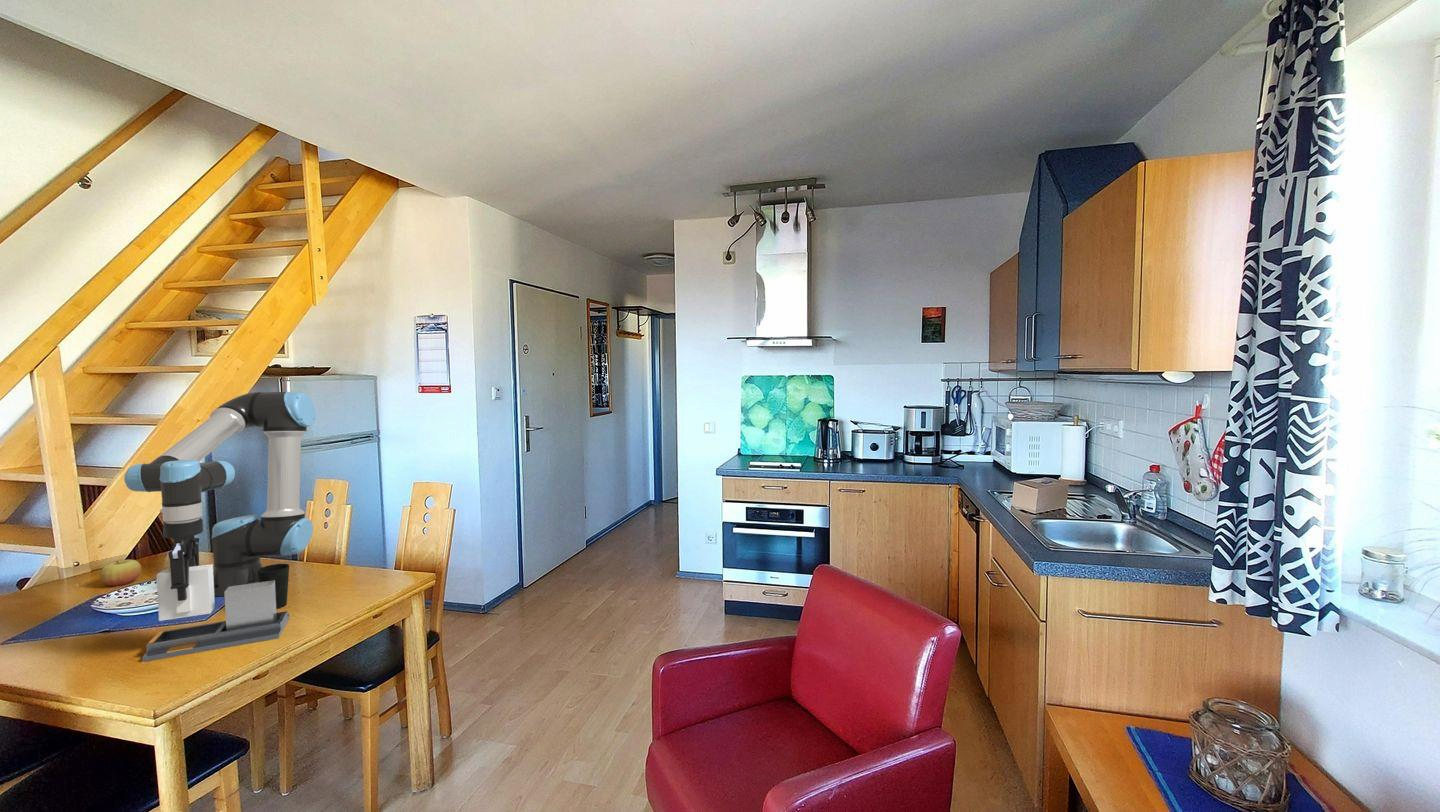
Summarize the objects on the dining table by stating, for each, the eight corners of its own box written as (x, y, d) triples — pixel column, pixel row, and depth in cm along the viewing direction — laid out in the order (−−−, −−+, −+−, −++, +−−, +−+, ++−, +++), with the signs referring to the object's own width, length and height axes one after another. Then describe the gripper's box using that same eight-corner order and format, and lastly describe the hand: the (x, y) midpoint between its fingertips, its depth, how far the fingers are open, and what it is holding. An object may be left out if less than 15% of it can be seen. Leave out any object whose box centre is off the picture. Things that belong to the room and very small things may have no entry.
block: (165, 615, 148) (162, 570, 148) (214, 607, 153) (212, 564, 152) (159, 621, 145) (156, 574, 144) (210, 613, 149) (207, 568, 149)
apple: (97, 584, 190) (96, 561, 190) (138, 576, 198) (137, 553, 198) (103, 591, 185) (101, 567, 184) (145, 582, 193) (144, 559, 192)
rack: (165, 638, 152) (162, 590, 152) (289, 617, 165) (287, 573, 164) (142, 661, 140) (139, 609, 139) (278, 638, 153) (276, 590, 152)
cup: (273, 612, 168) (271, 573, 168) (252, 610, 170) (250, 571, 169) (297, 602, 176) (295, 564, 175) (277, 600, 178) (275, 562, 177)
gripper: (176, 514, 153) (180, 599, 155) (149, 530, 138) (154, 623, 139) (212, 511, 157) (216, 594, 158) (190, 526, 142) (195, 617, 143)
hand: (187, 608), depth 149 cm, fingers closed on block, 4 cm apart
